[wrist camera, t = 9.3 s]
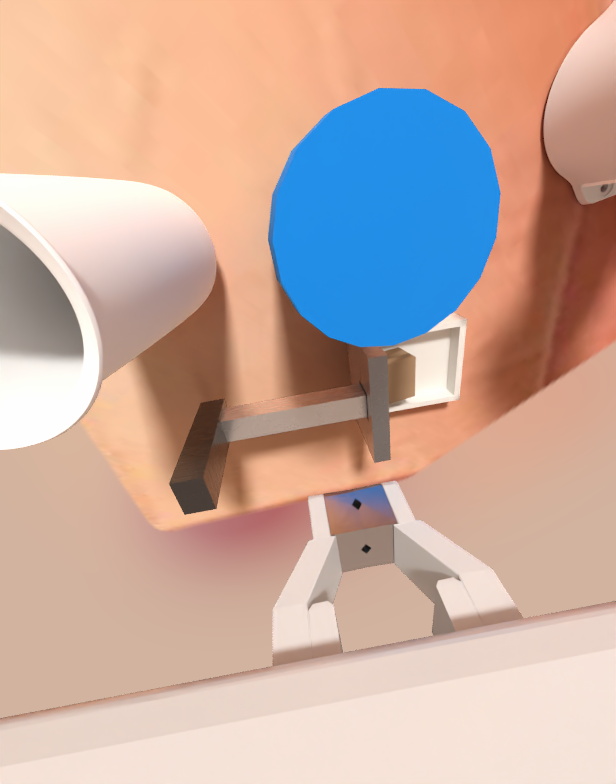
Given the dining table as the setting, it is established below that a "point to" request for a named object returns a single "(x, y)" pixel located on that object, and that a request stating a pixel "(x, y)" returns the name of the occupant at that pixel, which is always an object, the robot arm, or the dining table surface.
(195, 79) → the dining table surface
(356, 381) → the bearing wall
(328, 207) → the thermos
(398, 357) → the block
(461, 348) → the tray
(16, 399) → the vase
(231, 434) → the shaft
